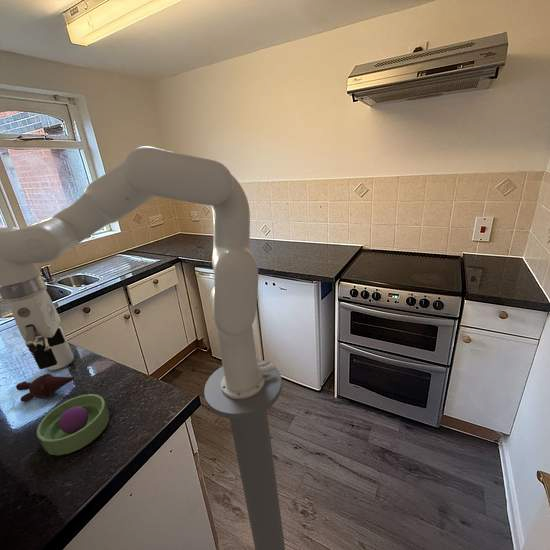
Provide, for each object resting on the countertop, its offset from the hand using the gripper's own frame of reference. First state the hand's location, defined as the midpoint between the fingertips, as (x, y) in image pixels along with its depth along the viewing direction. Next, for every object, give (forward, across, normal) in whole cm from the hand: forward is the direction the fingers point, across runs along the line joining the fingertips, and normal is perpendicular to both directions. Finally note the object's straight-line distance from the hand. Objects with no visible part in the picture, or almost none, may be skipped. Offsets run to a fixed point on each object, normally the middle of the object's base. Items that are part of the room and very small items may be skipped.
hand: (53, 354), depth 69 cm
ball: (+18, -2, +1) cm, 18 cm away
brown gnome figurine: (+22, +18, +11) cm, 30 cm away
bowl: (+22, -2, +1) cm, 22 cm away
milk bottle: (+22, +36, +11) cm, 43 cm away
